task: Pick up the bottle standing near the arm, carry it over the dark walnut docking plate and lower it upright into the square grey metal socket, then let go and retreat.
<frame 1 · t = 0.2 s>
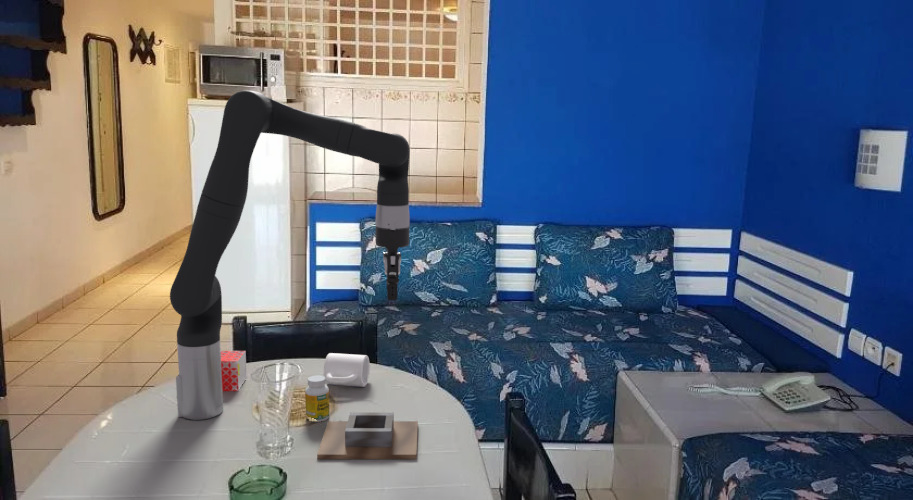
hand: (391, 295, 164), 28 cm above the table, fingers open, 8 cm apart
red patterned cube: (227, 386, 184), on the table
supplement bottle: (317, 418, 166), on the table
mug: (344, 388, 184), on the table
dock socket: (370, 441, 154), on the table
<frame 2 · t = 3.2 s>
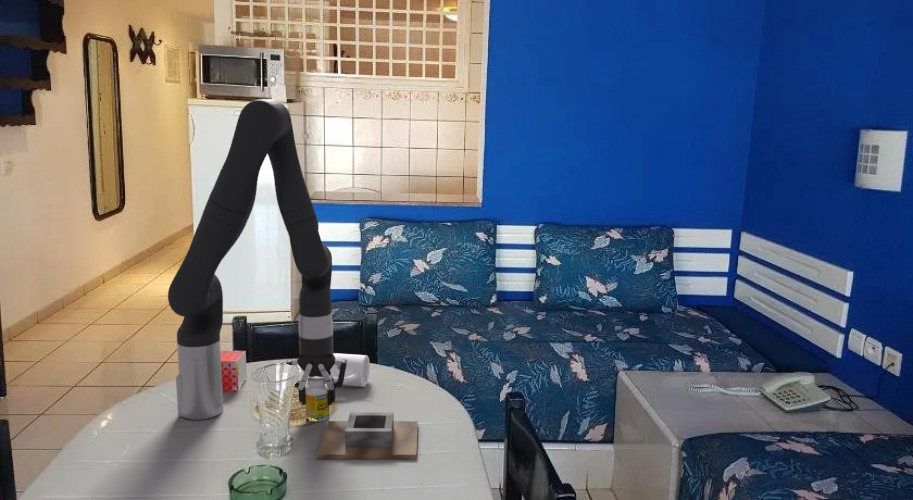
hand: (317, 403, 165), 4 cm above the table, fingers closed on supplement bottle, 5 cm apart
supplement bottle: (317, 418, 166), on the table, touching gripper
everything else where it was.
when the fingers open (6 cm above the table, at t = 10.2 s): supplement bottle drops 1 cm, resting on dock socket.
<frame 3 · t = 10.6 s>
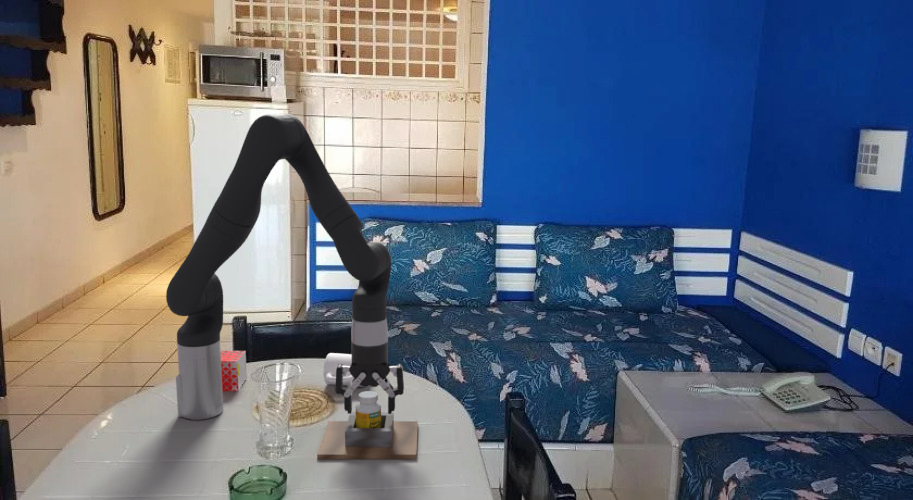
hand: (370, 412, 153), 7 cm above the table, fingers open, 8 cm apart
supplement bottle: (368, 437, 154), point 1 cm above the table, touching dock socket
everything else where it was.
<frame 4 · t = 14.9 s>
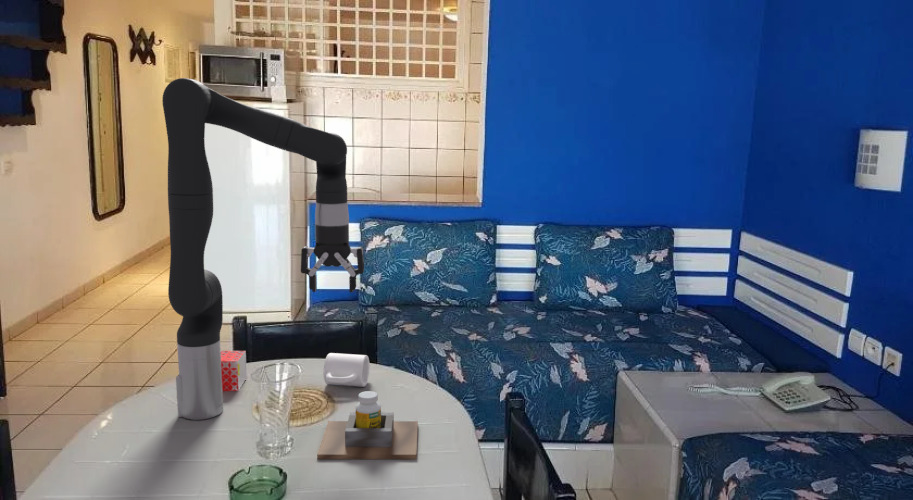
hand: (333, 291, 167), 28 cm above the table, fingers open, 8 cm apart
nothing on the table moved.
at the end: supplement bottle 0.4 cm off-centre on the dock socket, point 0.8 cm above the dock socket's base; supplement bottle tilted 0°; the gripper is holding nothing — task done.
